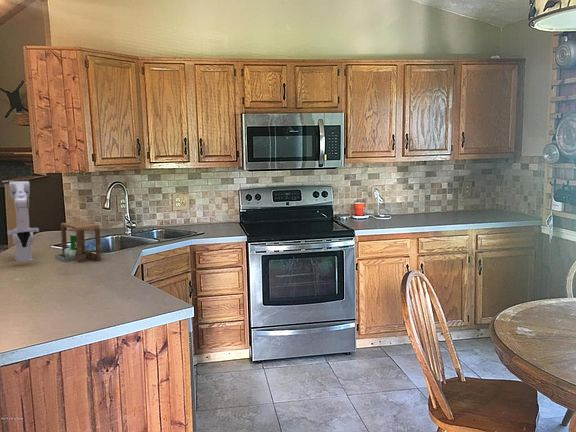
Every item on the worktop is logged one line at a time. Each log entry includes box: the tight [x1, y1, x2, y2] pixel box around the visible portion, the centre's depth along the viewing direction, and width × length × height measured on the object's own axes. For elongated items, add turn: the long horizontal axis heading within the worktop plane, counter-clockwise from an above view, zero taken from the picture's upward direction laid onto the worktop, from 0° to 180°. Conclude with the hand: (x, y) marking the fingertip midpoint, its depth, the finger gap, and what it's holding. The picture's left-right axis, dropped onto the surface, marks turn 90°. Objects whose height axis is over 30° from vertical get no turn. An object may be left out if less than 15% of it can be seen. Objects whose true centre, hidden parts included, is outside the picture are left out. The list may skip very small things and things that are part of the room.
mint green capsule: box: [69, 250, 76, 257], centre depth 277 cm, size 4×4×5 cm
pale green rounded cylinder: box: [64, 247, 72, 258], centre depth 280 cm, size 4×4×5 cm
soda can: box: [69, 231, 77, 252], centre depth 298 cm, size 8×8×12 cm
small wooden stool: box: [60, 221, 102, 263], centre depth 280 cm, size 22×12×19 cm, turn 45°
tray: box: [54, 252, 87, 263], centre depth 279 cm, size 12×12×3 cm
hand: (24, 246), depth 262 cm, fingers closed
